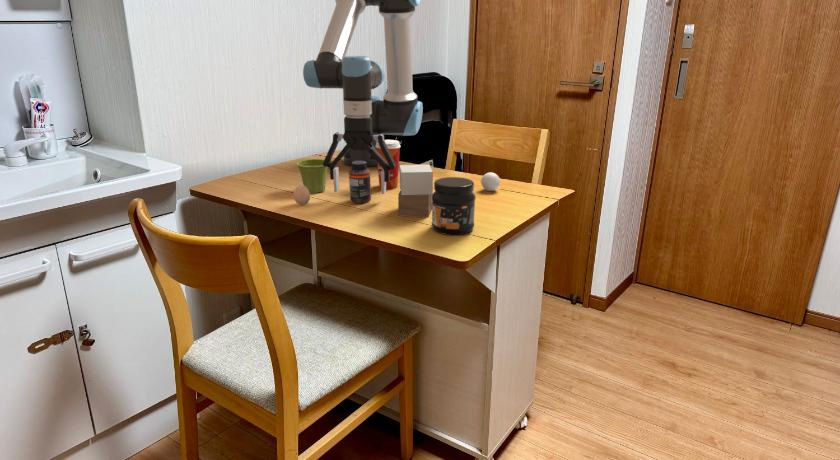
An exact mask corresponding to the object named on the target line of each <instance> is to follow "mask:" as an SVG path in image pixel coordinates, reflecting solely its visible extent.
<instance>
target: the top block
mask: <svg viewBox="0 0 840 460" xmlns="http://www.w3.org/2000/svg"><path fill="white" fill-rule="evenodd" d="M399 189H400V191H401V194H402V195H430V194H433V193H434V190H433V189H434V171H433V169H432V168H431V165H430V164H399Z"/></svg>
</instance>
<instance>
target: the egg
mask: <svg viewBox="0 0 840 460" xmlns="http://www.w3.org/2000/svg"><path fill="white" fill-rule="evenodd" d="M293 199H294V201H295V203H296V204H298V205H299V206H305V205H307V204H308V203H309V202H310V200H311V193H310V192H309V190H308V188H307V187H306V186H304V185H303V184H300V185H297V186H296V188H294V192H293Z"/></svg>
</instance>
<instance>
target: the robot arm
mask: <svg viewBox="0 0 840 460" xmlns="http://www.w3.org/2000/svg"><path fill="white" fill-rule="evenodd" d="M420 2H421V0H335V4H336V5H335V7H334V10H333V13H332V15H331V19H330V20H329V23H328V26H327V29H326V31H325V32H326V33H325V34H324V38H323V40H322V44H321V46H320V49H319V52H318V54H317V56H316V60H314V59H312V60H307V61H305V62H304V65H303V70H302V75H303V80H304V82H305V85H306V86H307V87H310V88H314V89H342V92H343V93H342V96H343V97H342V99H343V100H342V101H343V114H344V115H345V116H344V118H343V128H344V131H343V133H339V131H337V132H334V134H332V143H330V147H329V148H328V151H327V154H326V156H325V157H324V159H323V160H324V162H323V166H327V167H328V168H329V178H330V180H333V192H334V193H338V191H339V190H340V173H339V166H337V165H338V164H339V163H340V161H342V160H343V164H344V165H346V166H349V167H352V162H354V161H365V162H366V168H368V167H378V163H379V165H380V166H381V167H382V168H383V170H382V171H381V188H380V189H381V195H385V194H386V192H387V189H386V182H388V181H389V179H390V176H389V170H390V169H394V168H395V166H396V163H395V161H394V159H393V157H392V155H391V153H390V151H389V149H388V147H387V145H386V143H385V140H386V139H385V135H389V136H390V135H392V136H403V137H405V136H415V135H416V134H418V132H419V130H420V127H421V125H422V124H421V123H422V120H423V113H424V112H423V109H424V107H423V102H422V101H419V100H418V95H417V93H415V92H414V90H413V87H414V86H413V85H414V84H413V58H412V57H413V55H412V53H413V52H412V51H413V50H412V23H411V22H412V21H411V20H412V19H411V18H412V16H413V15H414V13H415V12H416V7H417V6H419V5H420V4H421V3H420ZM369 6H371V7H373V6H374V7H376V6H377V7H378V14H380V15H381V17H383V23H384V28H383V29H384V46H385V65H386V67H385V68H386V85H387V92H386V93H385V94H384V96H383V100H381V97H380V95H372V90H375V89H376V88H378V87H379V86H380V85H382V83H383V81H384V79H385V70H384V68H383V66H382V65H381V64H380V63H378V62H377V61H374V60H371V58H370V57H369V56H365V55H349V56H348V55H347V53H348V49H349V46H350V43H351V40H352V37H353V34H354V32H355V29H356V25H357V23H358V20H359V16H360V15H361V14H363V13H364V11H365V9H366V7H369ZM346 55H347V56H346ZM342 140H343V141H344V143H345V146H344V147H343V148H342V150H341V151H339V153H338V154H337V156H336V157H335V158H334V159H333V156H334V154H335V152H336V149H337V147H338V145H339V142H342ZM376 143H379V146H380V148H381V150H382V152H383V154H384V156H385V158H386V160H387V162H388V164H389V165H388V164H387V162H386V161H385V160H384V159H383V158H382V156H381V155H380V154H379V153H378V152H377V150H376V147H375V146H376ZM332 159H333V160H332ZM331 160H332V161H331ZM377 162H378V163H377Z"/></svg>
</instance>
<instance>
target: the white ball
mask: <svg viewBox="0 0 840 460" xmlns="http://www.w3.org/2000/svg"><path fill="white" fill-rule="evenodd" d="M480 182H481V186H482V188H483V189H484V190H485V191H488V192H493V191H496V190H497V189H498V188H499V186H500V183H501V180H500V177H499V175H497V174H496V173H494V172H489V171H488V172H487V173H485V174H484V175H482V177H481V180H480Z"/></svg>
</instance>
